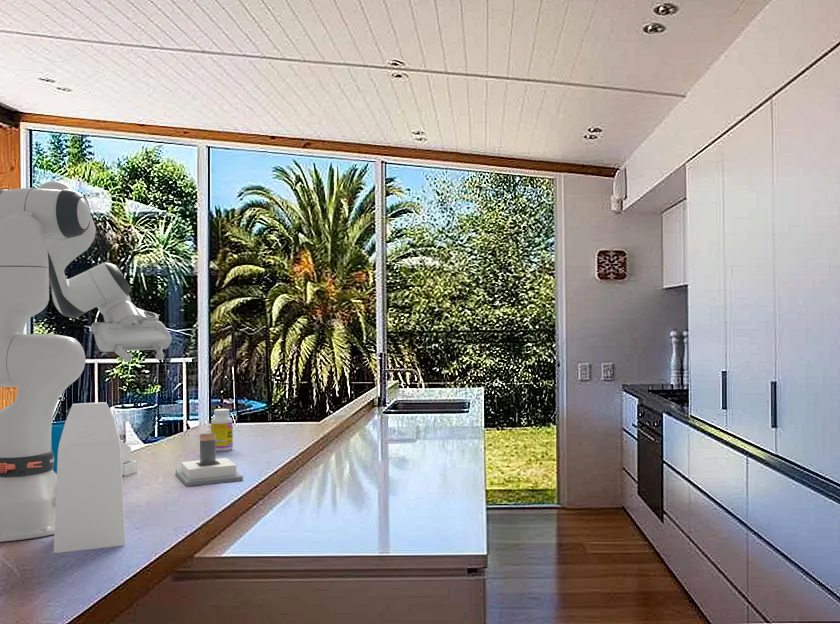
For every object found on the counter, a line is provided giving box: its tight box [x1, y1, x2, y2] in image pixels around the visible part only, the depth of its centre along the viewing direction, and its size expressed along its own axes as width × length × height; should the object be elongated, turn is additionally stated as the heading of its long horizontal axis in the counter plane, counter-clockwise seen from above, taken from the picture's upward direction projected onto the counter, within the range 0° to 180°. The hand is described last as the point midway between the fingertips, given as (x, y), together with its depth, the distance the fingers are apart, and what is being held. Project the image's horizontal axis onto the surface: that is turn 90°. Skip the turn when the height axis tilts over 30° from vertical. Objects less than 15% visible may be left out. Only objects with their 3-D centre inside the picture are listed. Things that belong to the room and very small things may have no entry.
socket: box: [175, 457, 244, 487], centre depth 204 cm, size 18×14×4 cm
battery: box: [199, 432, 217, 466], centre depth 203 cm, size 4×4×10 cm
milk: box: [53, 401, 126, 554], centre depth 146 cm, size 12×12×26 cm
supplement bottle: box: [210, 408, 234, 452], centre depth 246 cm, size 7×7×13 cm
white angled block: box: [120, 439, 138, 475], centre depth 209 cm, size 4×10×9 cm, turn 168°
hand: (145, 359), depth 203 cm, fingers open, 8 cm apart
